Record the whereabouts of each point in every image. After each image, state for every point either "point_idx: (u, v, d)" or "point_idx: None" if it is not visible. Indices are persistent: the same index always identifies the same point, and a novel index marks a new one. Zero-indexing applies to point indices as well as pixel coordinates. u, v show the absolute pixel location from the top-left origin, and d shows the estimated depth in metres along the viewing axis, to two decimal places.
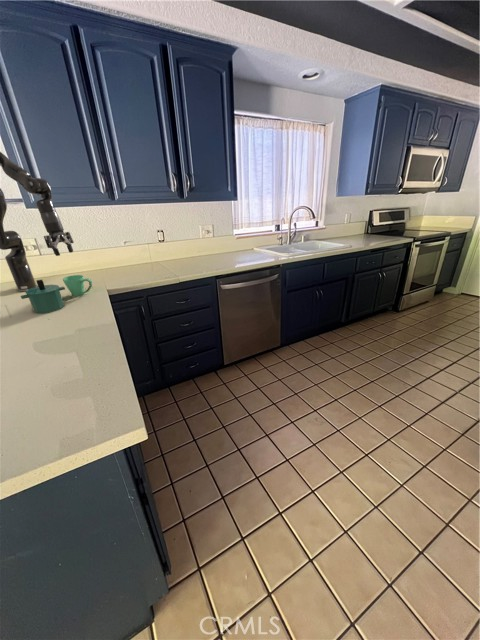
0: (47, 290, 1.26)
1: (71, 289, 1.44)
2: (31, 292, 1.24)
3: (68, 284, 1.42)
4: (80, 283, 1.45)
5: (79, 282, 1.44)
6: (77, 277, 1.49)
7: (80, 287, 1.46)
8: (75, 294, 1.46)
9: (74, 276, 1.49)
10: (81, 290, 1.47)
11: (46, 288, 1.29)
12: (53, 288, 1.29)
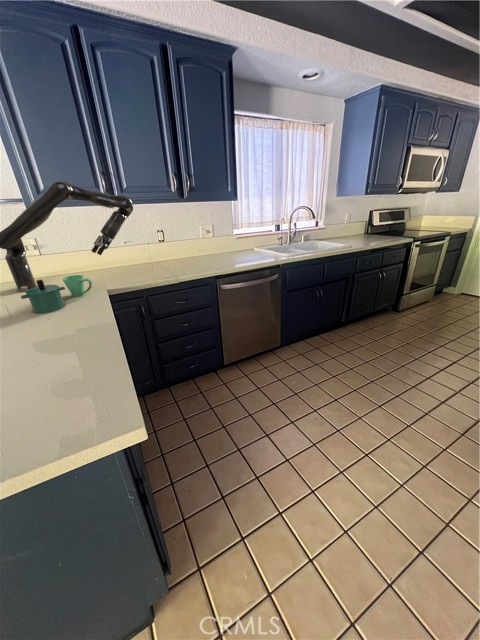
0: (47, 290, 1.26)
1: (71, 289, 1.44)
2: (31, 292, 1.24)
3: (68, 284, 1.42)
4: (80, 283, 1.45)
5: (79, 282, 1.44)
6: (77, 277, 1.49)
7: (80, 287, 1.46)
8: (75, 294, 1.46)
9: (74, 276, 1.49)
10: (81, 290, 1.47)
11: (46, 288, 1.29)
12: (53, 288, 1.29)
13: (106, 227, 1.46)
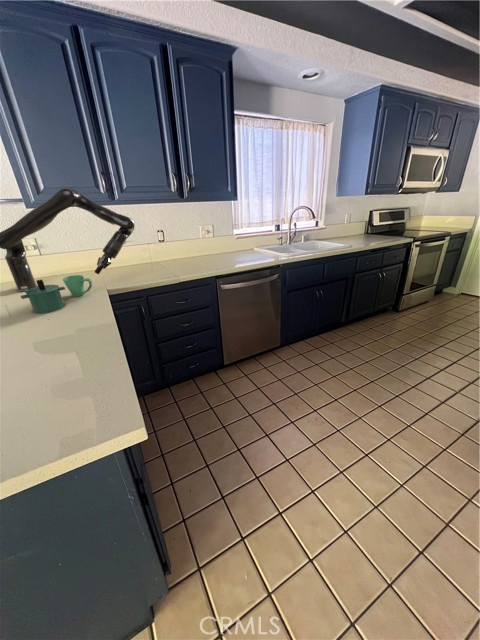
0: (47, 290, 1.26)
1: (71, 289, 1.44)
2: (31, 292, 1.24)
3: (68, 284, 1.42)
4: (80, 283, 1.45)
5: (79, 282, 1.44)
6: (77, 277, 1.49)
7: (80, 287, 1.46)
8: (75, 294, 1.46)
9: (74, 276, 1.49)
10: (81, 290, 1.47)
11: (46, 288, 1.29)
12: (53, 288, 1.29)
13: (108, 247, 1.50)
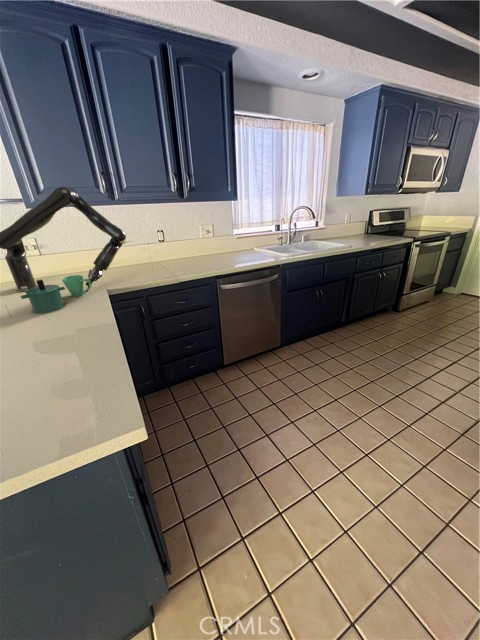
0: (47, 290, 1.26)
1: (70, 289, 1.44)
2: (31, 292, 1.24)
3: (67, 284, 1.42)
4: (79, 283, 1.44)
5: (78, 282, 1.43)
6: (77, 277, 1.49)
7: (79, 287, 1.45)
8: (74, 294, 1.46)
9: (74, 276, 1.49)
10: (80, 290, 1.47)
11: (46, 288, 1.29)
12: (53, 288, 1.29)
13: (99, 259, 1.48)
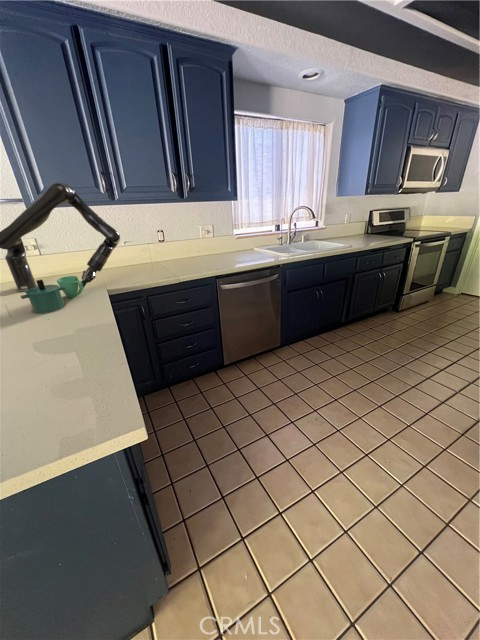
0: (47, 290, 1.26)
1: (63, 290, 1.42)
2: (31, 292, 1.24)
3: (60, 285, 1.41)
4: (72, 285, 1.42)
5: (70, 284, 1.41)
6: (74, 278, 1.48)
7: (72, 289, 1.43)
8: (68, 295, 1.45)
9: (71, 277, 1.48)
10: (73, 292, 1.44)
11: (46, 288, 1.29)
12: (53, 288, 1.29)
13: (93, 260, 1.46)
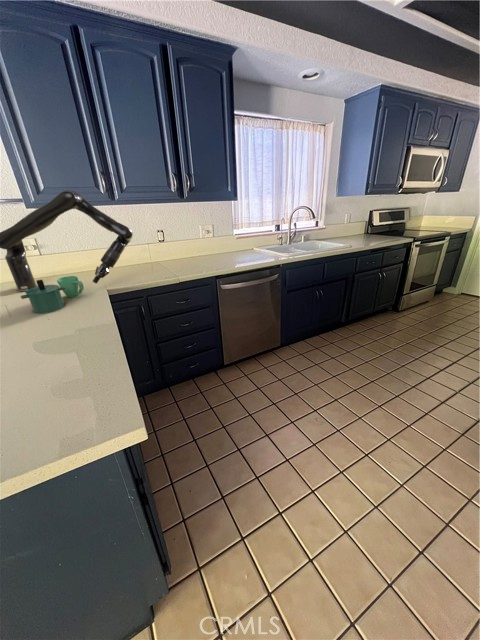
0: (47, 290, 1.26)
1: (63, 290, 1.42)
2: (31, 292, 1.24)
3: (60, 285, 1.41)
4: (72, 285, 1.42)
5: (70, 284, 1.41)
6: (74, 278, 1.48)
7: (72, 289, 1.43)
8: (68, 295, 1.45)
9: (71, 277, 1.48)
10: (73, 292, 1.45)
11: (46, 288, 1.29)
12: (53, 288, 1.29)
13: (106, 256, 1.50)
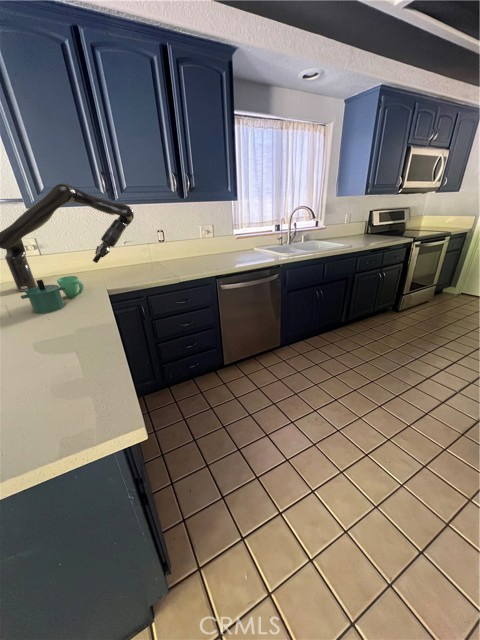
0: (47, 290, 1.26)
1: (63, 290, 1.42)
2: (31, 292, 1.24)
3: (60, 285, 1.41)
4: (72, 285, 1.42)
5: (70, 284, 1.41)
6: (74, 278, 1.48)
7: (72, 289, 1.43)
8: (68, 295, 1.45)
9: (71, 277, 1.48)
10: (73, 292, 1.45)
11: (46, 288, 1.29)
12: (53, 288, 1.29)
13: (107, 235, 1.47)
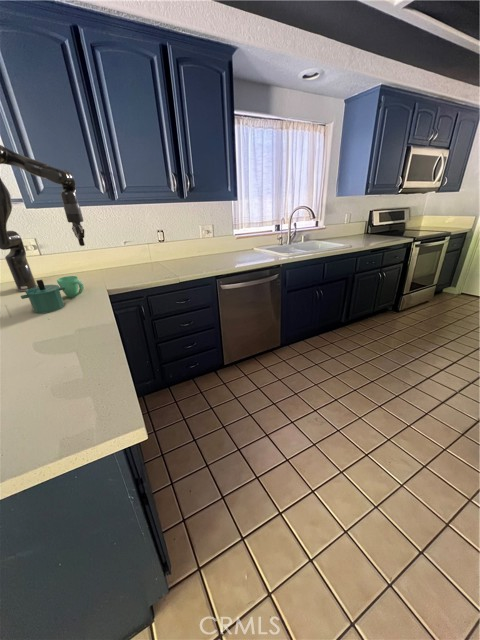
0: (47, 290, 1.26)
1: (63, 290, 1.42)
2: (31, 292, 1.24)
3: (60, 285, 1.41)
4: (72, 285, 1.42)
5: (70, 284, 1.41)
6: (74, 278, 1.48)
7: (72, 289, 1.43)
8: (68, 295, 1.45)
9: (71, 277, 1.48)
10: (73, 292, 1.45)
11: (46, 288, 1.29)
12: (53, 288, 1.29)
13: (68, 215, 1.38)
